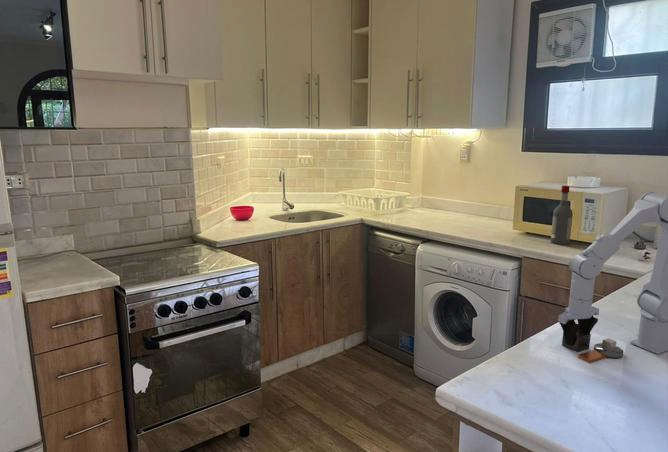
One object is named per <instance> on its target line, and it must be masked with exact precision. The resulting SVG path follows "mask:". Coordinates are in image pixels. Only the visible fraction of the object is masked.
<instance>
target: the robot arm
mask: <svg viewBox="0 0 668 452" xmlns="http://www.w3.org/2000/svg"><path fill="white" fill-rule="evenodd" d="M646 223H648V224H649V223H657V224H658V225H659V226H660V227H661V232H660V236H659V241H658V245H657V249H656V250H657V251H656V254H655V259H654V262H653V263H654V264H653V269H652V273H651V276H650V281H649V282H646V283H645V284H643V285H642V289H641V291H640V293H639V294H638V296H637V298H636V303H637V306H638V307H639V308H640V319H639V320H640V321H639V326H638V332H637V333H638V334H637V338H636V339H633V340H630V341H629V343H630V345H631V344H632V345H634V346H636V347H639V348H641V349H644V350H647V351H649V352H651V353H654V354H656V355H659V354H662V353H665V352H667V351H668V195H667V194H662V193H658V192H656V191H648V192H644V194H643V195H642V196H640V198H639V199H637V200H635V202H634V206H633V208H632V209H631V210H630V211H629V213H627V215H625V216H624V218H622V220H621V221H620V222H619V223H618V224H617V225H616V226H615V227H614V228H613V229H612V230H611V231H610V232H609V233H604V234H603V233H602V234H601V235H600V236H599V235H597V236H596V237H595V238H594V240H595V241H593V242H592V243H591V244H590V245H589V246H588V247H586V249H584V250H582V252H581V253H579V254H576V255H574V256H573V257H572V258H571V260H570V261H569V262H568V267H569V269H570V271H571V281H570V291H569V292H570V293H569V301H568V307H565V309H564V310H565V311H564V312H563V313H561V314H559V315H558V318H557V322H558V323H559V325H560V326H561V330H562V331H563V332H564V337H565V343H566V344H568V345H570V346H573V344H574V342H575V337H576V333H577V331H578V329H580V330H583V331H585V332H588V333H590V334H591V332H592V330H593V329H594V327H595V326H596V324H597V323H598V322H599V319H598V318H597V317H595V316H599V313H600V308H598V307H595V306H593V300H594V299H593V298H594V289H595V284H596V283H595V282H596V278H597V277H598V276H599V275H600V274H601V272H602V269H603V266H604V265H605V263H606V262H607V261H608V260H609V259H611V257H612V256H614V255H615V254H616V253H617V252H618V251H619V250H620V248H621V242H622V241H623V240H625V239H626V238H627V237H628V236H630V235H631V234H632V233H634V232H635V231H636V230H637V229H638V228H640V227H641V226H642V225H644V224H646ZM576 320H577V322H576ZM563 332H562V333H563Z"/></svg>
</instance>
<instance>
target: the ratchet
mask: <svg viewBox="0 0 668 452" xmlns="http://www.w3.org/2000/svg"><path fill="white" fill-rule="evenodd" d="M577 357H578V359H580V360H582V361H584V362H587V363H589V364H592V363H596V362H599V361H601V360H605V359H610V360H611V359H612V360H620V359H622V358H623V357H624V350H623V349H622V348H621V347H619V346H617V341H616V340H614V339H611V338H609V337H608V338H605V339H602V342H600V343H595V344H594V345H593V349H592V350H588V351H585V352H583V353H579V354H578V356H577Z"/></svg>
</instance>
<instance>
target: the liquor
mask: <svg viewBox="0 0 668 452" xmlns="http://www.w3.org/2000/svg"><path fill="white" fill-rule="evenodd" d="M560 192H561V198H560V203H559V205H557V206H556V207H555V208H554V210H553V215H552V223H551V234H550V243H551V244H555V245H563V246H566V245H567V246H568V245H569V244H570V242H571V233H572V227H573V226H572V225H573V217H574V216H573V213H574V212H573V210H572V209H571V207H570V206H569V204H568V203H569V202H568V201H569V192H570V185H561V190H560Z"/></svg>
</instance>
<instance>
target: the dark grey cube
mask: <svg viewBox="0 0 668 452" xmlns="http://www.w3.org/2000/svg"><path fill="white" fill-rule="evenodd" d="M591 336H592V333H591V332H590V333H588V332H585V331H583V330H580V329H578V331H577V333H576V337H575V342H574V344H573V346H570V345H568V344H566V343H565V337H564V332H562V338H561V339H562V340H561V346H563V347H565V348H566V349H569V350H571V351H573V352H575V351H576V352H575V353H580V352H583V351H586V350H589V349H590V342H591Z"/></svg>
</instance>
